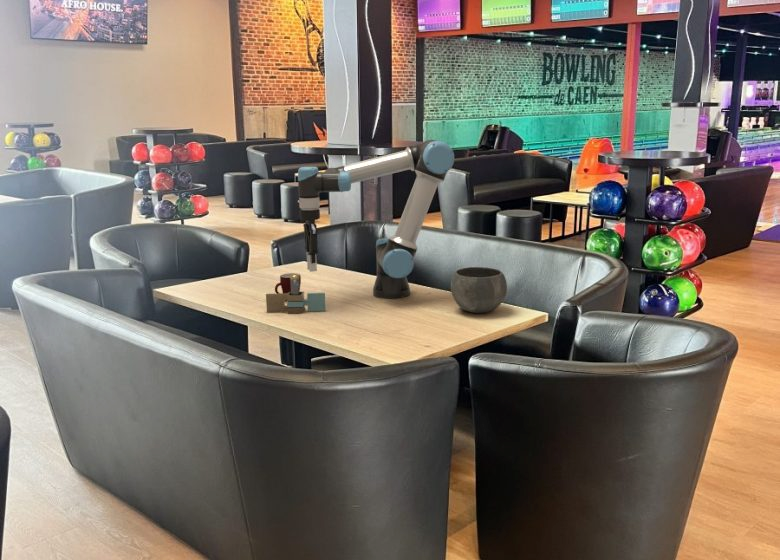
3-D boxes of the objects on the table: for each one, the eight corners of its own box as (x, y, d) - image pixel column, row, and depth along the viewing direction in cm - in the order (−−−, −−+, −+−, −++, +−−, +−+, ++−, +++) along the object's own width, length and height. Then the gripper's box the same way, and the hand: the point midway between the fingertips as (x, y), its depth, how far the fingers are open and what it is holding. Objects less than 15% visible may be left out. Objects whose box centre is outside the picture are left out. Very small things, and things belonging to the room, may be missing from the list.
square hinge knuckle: (304, 309, 294) (304, 291, 292) (303, 313, 288) (302, 295, 287) (268, 310, 294) (267, 292, 292) (266, 314, 288) (264, 296, 287)
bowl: (441, 307, 293) (441, 268, 290) (489, 301, 300) (490, 263, 297) (465, 321, 274) (465, 280, 271) (516, 314, 282) (517, 274, 278)
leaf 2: (287, 313, 288) (286, 295, 287) (289, 308, 294) (288, 291, 292) (324, 312, 288) (324, 294, 287) (326, 308, 294) (325, 291, 292)
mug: (281, 304, 302) (279, 279, 299) (272, 300, 308) (270, 275, 306) (305, 300, 307) (304, 275, 305) (296, 296, 314) (294, 272, 312)
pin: (300, 310, 293) (299, 274, 290) (299, 312, 290) (298, 276, 286) (292, 310, 293) (290, 274, 290) (291, 312, 290) (289, 276, 287)
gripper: (295, 206, 295) (298, 266, 300) (304, 212, 280) (306, 275, 285) (314, 205, 297) (317, 265, 302) (324, 210, 282) (326, 273, 287)
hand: (312, 270), depth 294 cm, fingers open, 3 cm apart
